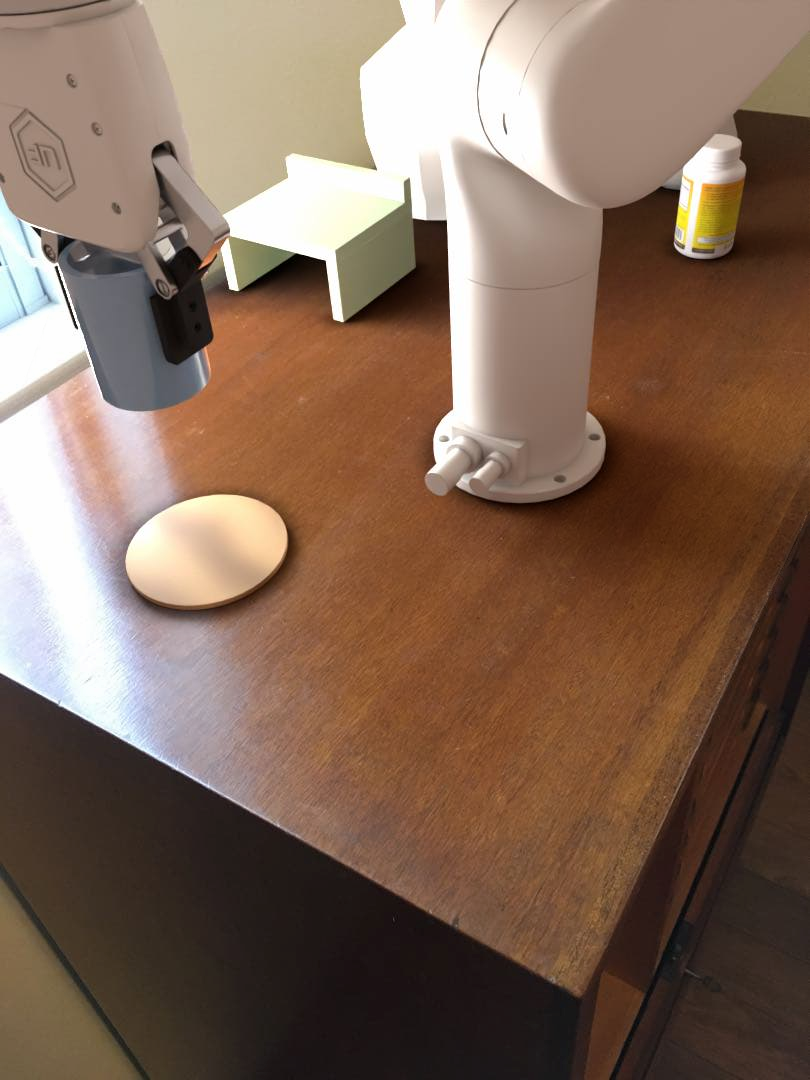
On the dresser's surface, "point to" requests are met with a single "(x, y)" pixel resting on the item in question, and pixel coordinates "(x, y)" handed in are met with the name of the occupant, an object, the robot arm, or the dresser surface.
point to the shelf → (327, 229)
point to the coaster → (206, 552)
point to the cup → (126, 329)
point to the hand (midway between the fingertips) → (143, 333)
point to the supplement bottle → (710, 199)
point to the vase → (406, 110)
